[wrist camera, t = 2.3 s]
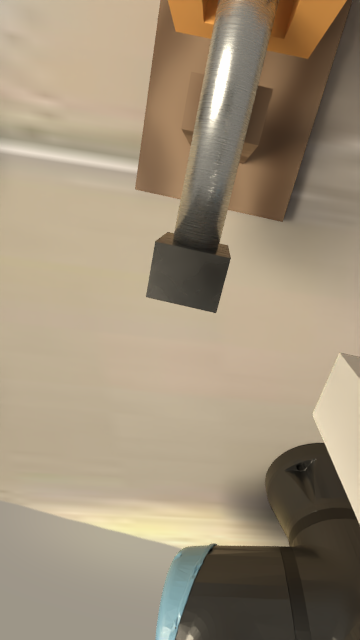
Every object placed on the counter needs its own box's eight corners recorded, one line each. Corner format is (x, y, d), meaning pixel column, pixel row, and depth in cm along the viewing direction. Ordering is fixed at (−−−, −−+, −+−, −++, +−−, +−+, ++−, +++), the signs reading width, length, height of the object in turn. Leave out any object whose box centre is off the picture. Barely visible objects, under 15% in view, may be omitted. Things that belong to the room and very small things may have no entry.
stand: (364, -52, 26) (515, -303, 13) (279, 220, 34) (318, 236, 21) (176, -88, 26) (136, -368, 13) (138, 189, 35) (90, 185, 22)
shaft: (359, -265, 14) (429, -491, 9) (216, 290, 24) (216, 312, 20) (261, -283, 14) (281, -513, 10) (159, 277, 24) (146, 296, 20)
